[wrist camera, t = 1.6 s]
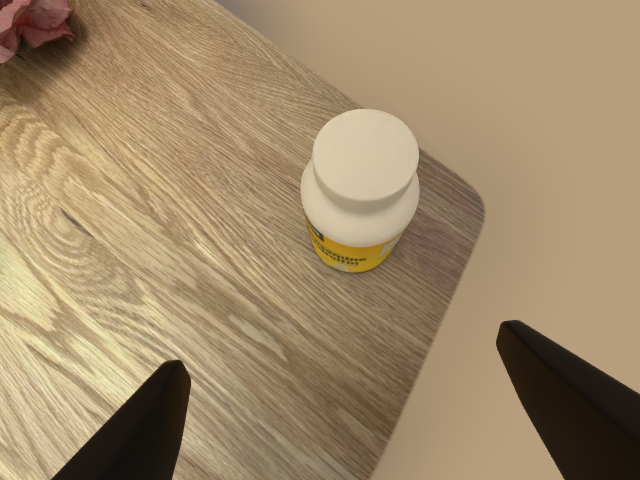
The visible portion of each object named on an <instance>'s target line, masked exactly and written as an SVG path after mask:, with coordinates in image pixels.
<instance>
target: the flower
mask: <svg viewBox="0 0 640 480" xmlns="http://www.w3.org/2000/svg"><path fill="white" fill-rule="evenodd" d="M73 10H74V9H71V8H69V6H68V4H67V2H66V1H65V0H0V65H1V64H3V63H5V62H6V61H7V60H9V59H10V58H11V57H12V56H13V55H16V56H18V57H20V58H21V59H23V60H25V59H24V58H22V57H21V56H20V55H19V54H18V53H17V52H21V51H25V50H32V49H35V48H37V47H39V46H41V45H43V44H45V43H51V42H56V41H58V40H60V39H61V38H62V37H65V36H66V37H67V38H68V39H69V40H70V41H71V42H73V40H74V39H75V35H74V34H72V33H71V29H70V28H69V27H68V26H67V25H66V22H65V20H66V18H68V17H69V16H71V13H72V12H73ZM25 61H26V60H25Z"/></svg>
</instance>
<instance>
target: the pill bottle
mask: <svg viewBox="0 0 640 480" xmlns="http://www.w3.org/2000/svg"><path fill="white" fill-rule="evenodd" d="M418 160H419V152H418V145H417V142H416V139H415V137H414V135H413V134H412V132H411V131H410V129H409V128H408V127H407V126H406V125H405V124H404V123H403V122H402V121H401V120H399V119H398V118H396V117H395V116H393V115H391V114H389V113H386V112H383V111H379V110H374V109H357V110H352V111H348V112H345V113H342V114H340V115H338V116H336V117H334V118H333V119H331V120H330V121H329V122H328V123H327V124H326V125H324V127H323V128H322V129H321V130H320V132H319V133H318V135H317V137H316V140H315V142H314V146H313V151H312V158H311V159H310V161H309V162H308V164H307V166H306V168H305V170H304V173H303V176H302V180H301V188H300V191H301V202H302V206H303V210H304V214H305V218H306V222H307V226H308V230H309V234H310V238H311V242H312V245H313V248H314V250H315V252H316V253H317V255H318V257H319V258H320V259H321V260H322V261H323V262H324V263H325V264H326V265H328V266H329V267H330V268H332V269H334V270H336V271H339V272H342V273H347V274H359V273H364V272H368V271H370V270H372V269H374V268H376V267H377V266H379V265H380V264H381V263H382V262H383V261H384V260H385V259H386V258H387V257H388V255H389V254H390V252H391V251H392V249H393V248H394V246H395V245H396V243H397V241H398V240H399V238H400V237H401V235H402V234H403V232H404V230H405V229H406V227H407V226H408V224H409V223H410V221H411V219H412V218H413V216H414V214H415V211H416V209H417V206H418V202H419V195H420V188H419V180H418V176H417V173H416V169H417V165H418Z"/></svg>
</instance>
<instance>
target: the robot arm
mask: <svg viewBox="0 0 640 480" xmlns="http://www.w3.org/2000/svg"><path fill="white" fill-rule="evenodd" d="M496 346H497V350H498V352H499V354H500V356H501V358H502V361H503V363H504V365H505V368H506V370H507V372H508V374H509V377H510V379H511V381H512V384H513V386H514V388H515V390H516V392H517V395H518V397H519V399H520V401H521V403H522V405H523V407H524V409H525V410H526V412H527V414H528V416H529V418H530V419H531V421H532V423H533V425H534V427H535V428H536V430H537V432H538V433H539V435H540V437H541V439H542V441H543V443H544V444H545V446H546V448H547V449H548V451H549V453H550V455H551V457H552V458H553V460H554V462H555V464H556V465H557V467H558V469H559V471H560V472H561V474H562V476H563V478H564V479H565V480H640V394H639V393H637V392H635V391H634V390H632V389H630V388H629V387H627V386H626V385H624V384H622V383H621V382H619V381H617V380H616V379H614V378H613V377H611V376H609V375H608V374H606V373H604V372H603V371H601V370H599V369H598V368H596V367H595V366H593V365H591V364H590V363H588V362H586V361H585V360H583V359H581V358H580V357H578V356H577V355H575V354H573V353H572V352H570V351H568V350H567V349H565V348H563V347H562V346H560V345H559V344H557V343H555V342H554V341H552V340H550V339H549V338H547V337H546V336H544V335H542V334H540V333H539V332H537V331H536V330H534V329H532V328H531V327H529V326H528V325H526V324H524V323H523V322H521V321H519V320H510V321H504V322H502V323H501V325H500V329H499V332H498V336H497V340H496ZM190 388H191V378H190V375H189V374H188V372H187V370H186V368H185V366H184V364H183V362H182V361H181V360H170V361H166V362H164V363H163V364H162V365H161V366H160V367H159V368H158V369H157V370H156V371H155V372H154V373H153V374H152V375H151V376H150V377H149V378H148V379H147V380H146V381H145V382H144V383H143V384H142V385H141V386H140V388H139V389H138V390H137V391H136V392H135V393H134V394H133V395H132V396H131V397H130V398H129V399H128V400H127V401H126V402H125V403H124V404H123V405H122V406H121V407H120V408H119V409H118V410H117V411H116V412H115V414H114V415H113V416H112V417H111V418H110V419H109V420H108V421H107V422H106V423H105V424H104V425H103V426H102V427H101V428H100V429H99V430H98V431H97V432H96V433H95V434H94V435H93V436H92V437H91V438H90V440H89V441H88V442H87V443H86V444H85V445H84V446H83V447H82V448H81V449H80V450H79V451H78V452H77V453H76V454H75V455H74V456H73V457H72V458H71V459H70V460H69V461H68V462H67V463H66V464H65V466H64V467H63V468H62V469H61V470H60V471H59V472H58V473H57V474H56V475H55V476H54V477H53V478H52V479H51V480H172V477H173V473H174V469H175V465H176V462H177V458H178V454H179V450H180V446H181V442H182V437H183V431H184V425H185V419H186V413H187V407H188V401H189V394H190Z"/></svg>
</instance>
